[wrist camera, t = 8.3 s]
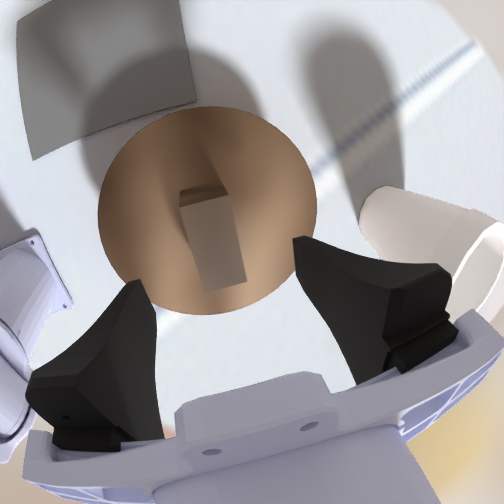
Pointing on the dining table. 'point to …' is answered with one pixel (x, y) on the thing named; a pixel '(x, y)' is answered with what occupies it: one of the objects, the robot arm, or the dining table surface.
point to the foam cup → (437, 241)
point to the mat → (98, 66)
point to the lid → (206, 209)
